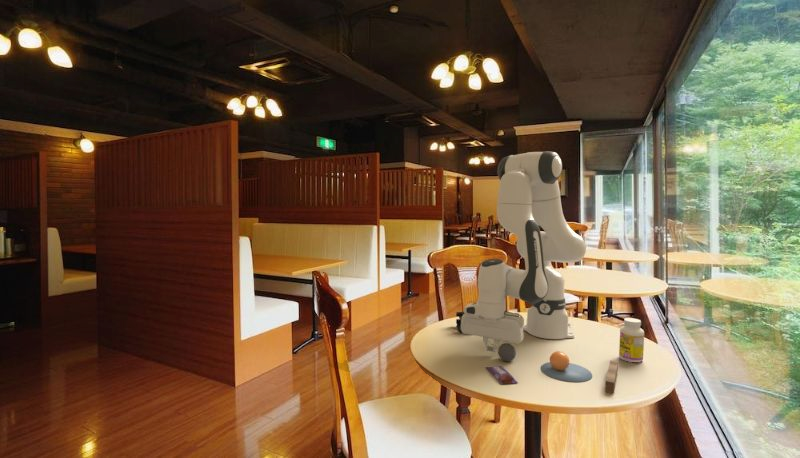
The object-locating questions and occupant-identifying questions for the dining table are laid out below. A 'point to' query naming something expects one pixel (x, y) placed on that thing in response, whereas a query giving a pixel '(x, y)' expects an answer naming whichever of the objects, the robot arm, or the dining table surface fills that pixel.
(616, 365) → the wall
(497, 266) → the robot arm
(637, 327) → the supplement bottle
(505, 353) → the dark gray ball
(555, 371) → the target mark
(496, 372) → the snack package
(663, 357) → the dining table surface
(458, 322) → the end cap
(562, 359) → the object ball
